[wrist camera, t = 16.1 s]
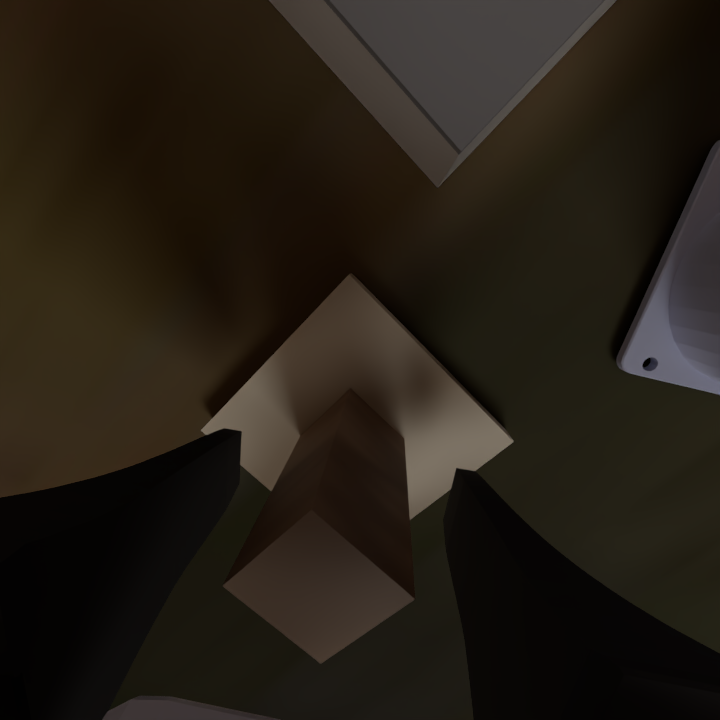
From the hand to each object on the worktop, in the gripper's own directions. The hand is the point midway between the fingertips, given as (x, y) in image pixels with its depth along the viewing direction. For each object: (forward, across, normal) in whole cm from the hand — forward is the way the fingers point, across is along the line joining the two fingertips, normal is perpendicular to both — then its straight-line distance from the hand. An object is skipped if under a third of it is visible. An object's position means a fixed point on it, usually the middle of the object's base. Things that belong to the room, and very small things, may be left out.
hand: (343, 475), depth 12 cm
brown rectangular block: (+3, 0, 0) cm, 3 cm away
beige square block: (+4, 0, 0) cm, 4 cm away
